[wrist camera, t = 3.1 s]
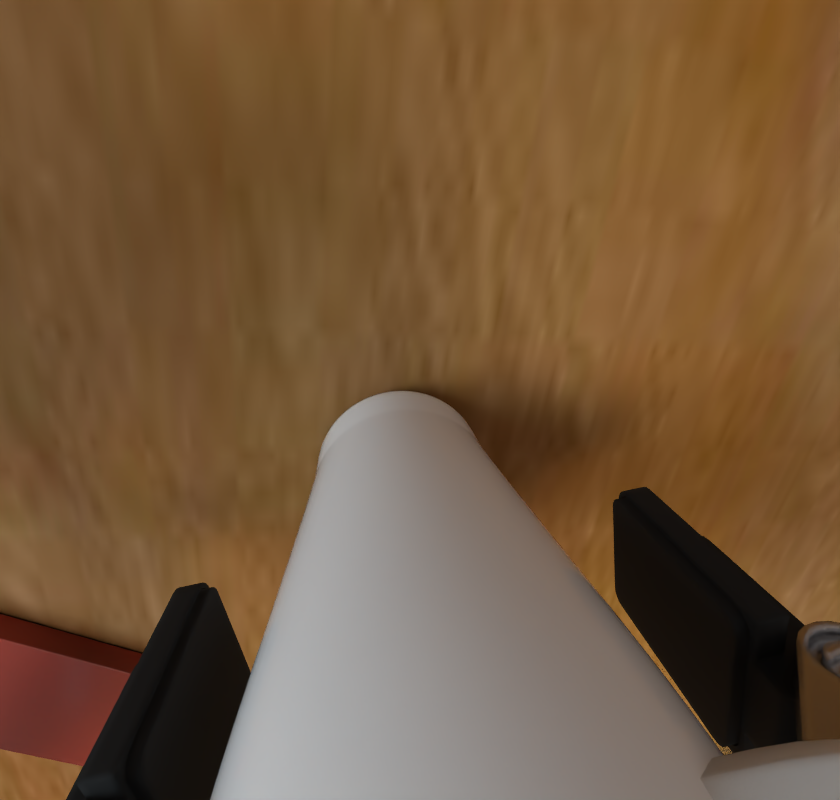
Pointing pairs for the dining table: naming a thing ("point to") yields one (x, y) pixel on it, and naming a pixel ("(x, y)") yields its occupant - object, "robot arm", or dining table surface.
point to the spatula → (56, 689)
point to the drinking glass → (446, 642)
